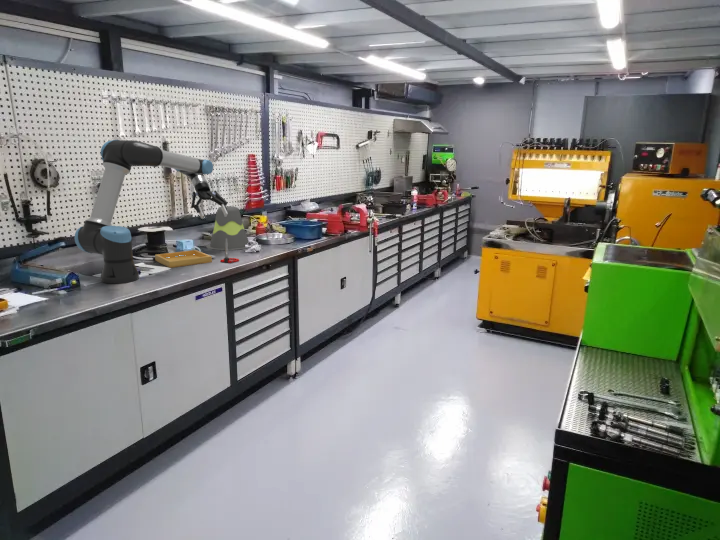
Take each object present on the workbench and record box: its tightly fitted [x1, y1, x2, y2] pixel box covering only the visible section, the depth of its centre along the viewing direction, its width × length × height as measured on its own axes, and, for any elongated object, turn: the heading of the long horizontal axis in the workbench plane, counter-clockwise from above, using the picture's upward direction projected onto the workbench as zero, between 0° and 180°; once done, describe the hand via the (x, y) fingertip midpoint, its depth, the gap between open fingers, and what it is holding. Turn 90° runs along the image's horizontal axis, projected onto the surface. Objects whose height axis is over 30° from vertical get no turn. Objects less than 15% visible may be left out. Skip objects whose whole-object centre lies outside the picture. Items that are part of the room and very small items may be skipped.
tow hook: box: [220, 238, 240, 264], centre depth 252 cm, size 8×13×9 cm
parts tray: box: [154, 249, 213, 269], centre depth 249 cm, size 22×20×3 cm
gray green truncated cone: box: [205, 205, 250, 251], centre depth 290 cm, size 28×28×24 cm
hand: (214, 216), depth 256 cm, fingers open, 13 cm apart
